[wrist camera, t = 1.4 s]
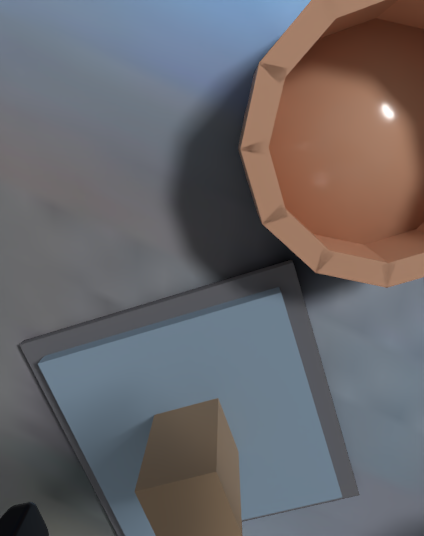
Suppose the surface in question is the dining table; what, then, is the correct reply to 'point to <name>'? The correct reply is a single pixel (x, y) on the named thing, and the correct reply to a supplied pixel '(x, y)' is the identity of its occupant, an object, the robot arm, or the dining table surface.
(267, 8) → the dining table surface
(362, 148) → the bowl
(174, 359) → the cover
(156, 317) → the mat
